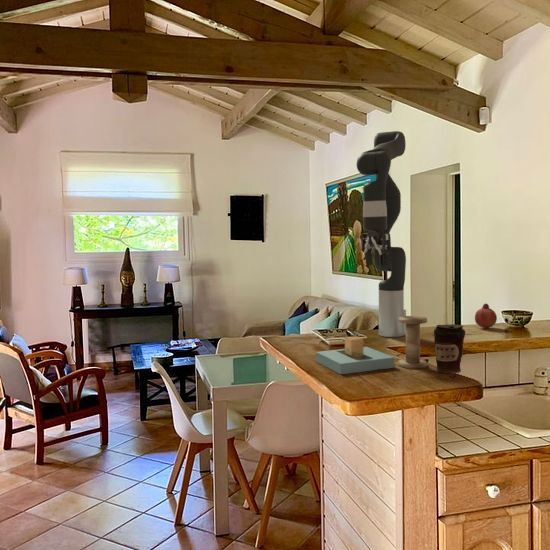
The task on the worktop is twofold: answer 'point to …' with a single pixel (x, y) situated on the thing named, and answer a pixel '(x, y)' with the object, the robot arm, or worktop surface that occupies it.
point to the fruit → (485, 317)
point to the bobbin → (413, 342)
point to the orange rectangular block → (354, 347)
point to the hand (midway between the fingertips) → (375, 265)
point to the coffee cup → (449, 347)
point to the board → (354, 361)
